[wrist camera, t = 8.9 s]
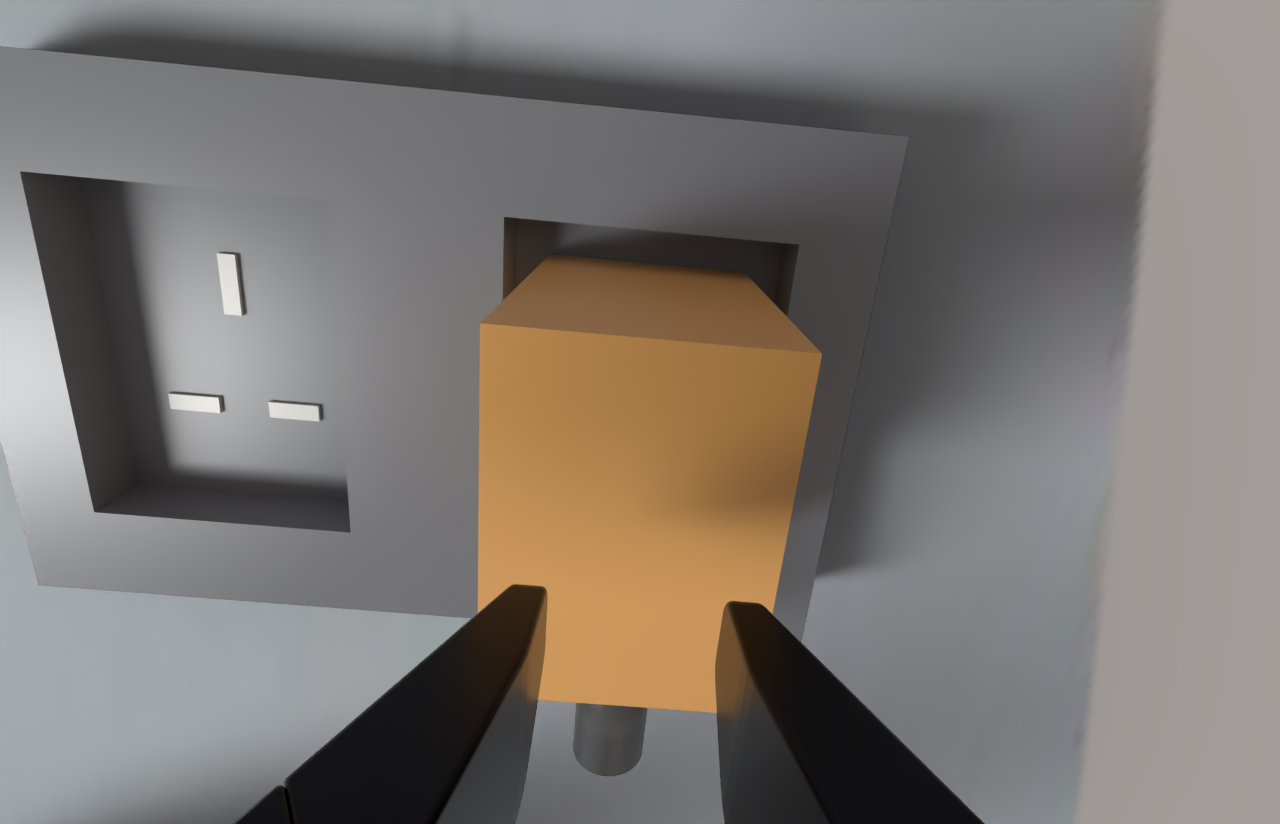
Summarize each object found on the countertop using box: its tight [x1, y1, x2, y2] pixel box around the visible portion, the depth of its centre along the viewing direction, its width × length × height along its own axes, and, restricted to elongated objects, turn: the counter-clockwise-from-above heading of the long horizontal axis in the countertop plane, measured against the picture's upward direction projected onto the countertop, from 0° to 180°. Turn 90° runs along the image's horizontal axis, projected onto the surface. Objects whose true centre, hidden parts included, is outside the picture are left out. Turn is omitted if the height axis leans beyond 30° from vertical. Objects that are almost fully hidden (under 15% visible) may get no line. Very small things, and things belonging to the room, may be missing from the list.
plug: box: [478, 254, 822, 776], centre depth 13 cm, size 4×9×7 cm, turn 175°
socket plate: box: [0, 46, 909, 642], centre depth 16 cm, size 19×12×2 cm, turn 85°
